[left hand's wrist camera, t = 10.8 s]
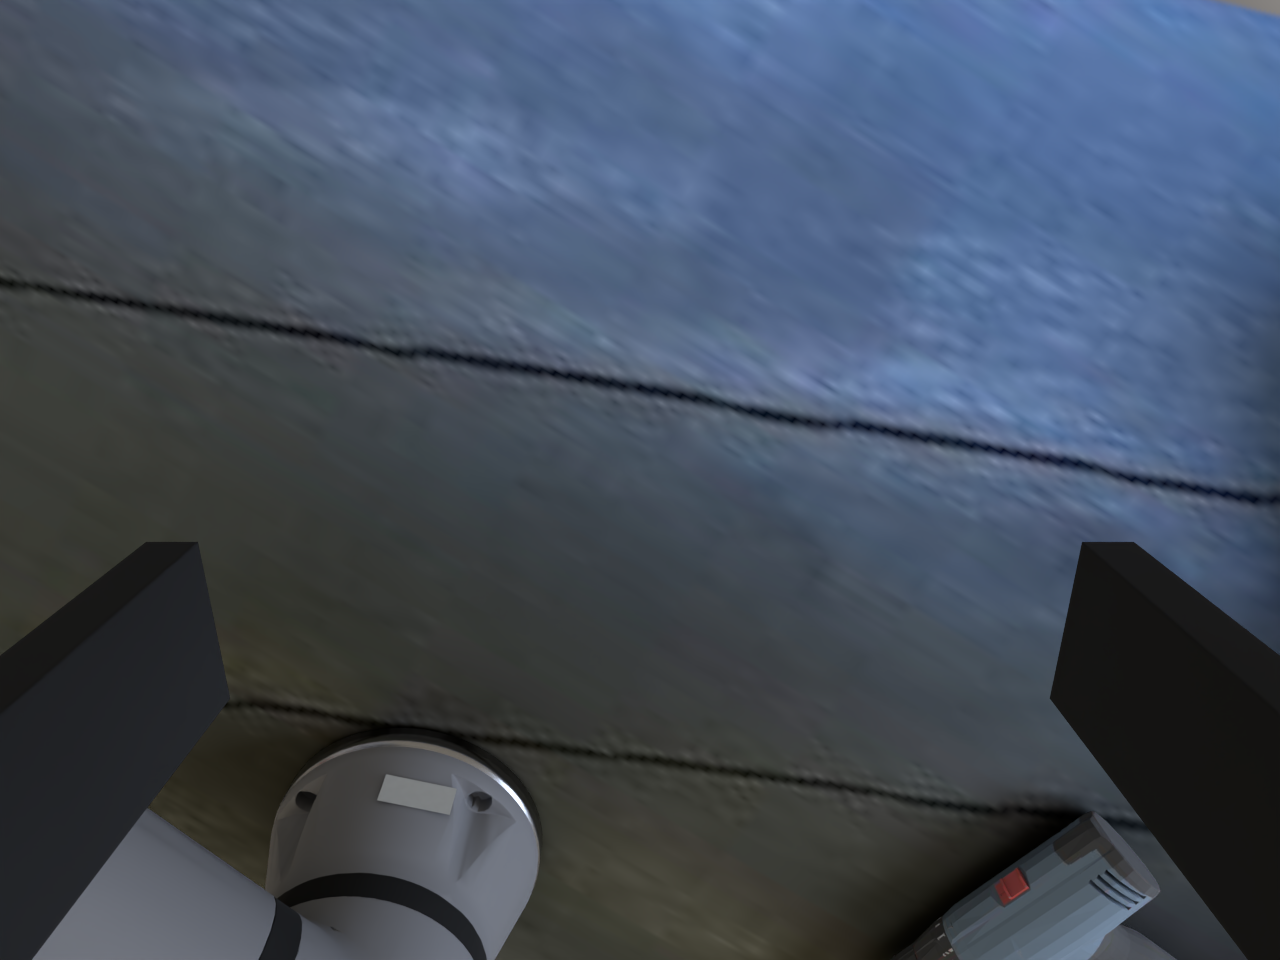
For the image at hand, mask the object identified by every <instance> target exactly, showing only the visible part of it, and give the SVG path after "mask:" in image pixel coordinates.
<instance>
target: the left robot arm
mask: <svg viewBox="0 0 1280 960" xmlns="http://www.w3.org/2000/svg"><path fill="white" fill-rule="evenodd" d="M229 699H230V696H229V691H228V686H227V681H226V676H225V671H224V666H223V662H222V657H221V652H220V647H219V642H218V637H217V633H216V628H215V623H214V618H213V613H212V608H211V604H210V599H209V594H208V589H207V584H206V579H205V575H204V570H203V565H202V560H201V555H200V550H199V545H198V542H146V543H144V544H143V545H142V546H141V547H139V548H138V549H137V550H135V551H134V552H133V553H132V554H130V555H129V556H128V557H126V558H125V559H124V560H123V561H121V562H120V563H119V564H117V565H116V566H115V567H114V568H112V569H111V570H110V571H108V572H107V573H106V574H105V575H103V576H102V577H101V578H99V579H98V580H97V581H96V582H94V583H93V584H92V585H90V586H89V587H88V588H87V589H85V590H84V591H83V592H81V593H80V594H79V595H78V596H76V597H75V598H74V599H73V600H71V601H70V602H69V603H67V604H66V605H65V606H64V607H62V608H61V609H60V610H58V611H57V612H56V613H55V614H53V615H52V616H51V617H49V618H48V619H47V620H46V621H44V622H43V623H42V624H40V625H39V626H38V627H37V628H35V629H34V630H33V631H31V632H30V633H29V634H28V635H26V636H25V637H24V638H22V639H21V640H20V641H19V642H17V643H16V644H15V645H13V646H12V647H11V648H10V649H8V650H7V651H6V652H4V653H3V654H2V655H1V656H0V960H495V958H496V956H497V955H498V953H499V951H500V949H501V948H502V946H503V944H504V942H505V941H506V939H507V937H508V935H509V934H510V932H511V930H512V928H513V927H514V925H515V923H516V922H517V920H518V918H519V916H520V915H521V913H522V911H523V909H524V908H525V906H526V904H527V902H528V900H529V898H530V895H531V893H532V891H533V888H534V886H535V883H536V880H537V876H538V870H539V863H540V856H541V849H542V828H541V822H540V818H539V814H538V812H537V809H536V806H535V804H534V802H533V800H532V798H531V796H530V794H529V793H528V791H527V790H526V788H525V787H524V785H523V784H522V783H521V781H520V780H519V779H518V778H517V777H516V775H515V774H514V773H513V772H512V771H511V770H510V769H509V768H507V767H506V766H505V765H504V764H503V763H502V762H500V761H499V760H498V759H496V758H495V757H494V756H492V755H491V754H489V753H488V752H486V751H484V750H482V749H481V748H479V747H477V746H475V745H473V744H471V743H469V742H467V741H464V740H462V739H459V738H456V737H454V736H450V735H447V734H443V733H440V732H435V731H430V730H423V729H415V728H385V729H377V730H371V731H366V732H362V733H358V734H355V735H352V736H349V737H346V738H344V739H342V740H339V741H337V742H335V743H333V744H331V745H329V746H328V747H326V748H325V749H323V750H322V751H320V752H319V753H317V754H316V755H315V756H314V757H313V758H311V759H310V760H309V761H308V762H307V763H306V764H305V765H304V766H303V768H302V769H301V770H300V771H299V773H298V774H297V775H296V777H295V779H294V780H293V782H292V784H291V786H290V788H289V789H288V791H287V793H286V795H285V797H284V798H283V800H282V802H281V804H280V806H279V808H278V811H277V813H276V817H275V821H274V825H273V829H272V833H271V840H270V849H269V858H268V867H267V876H266V885H265V889H263V888H262V887H260V886H259V885H257V884H256V883H255V882H253V881H252V880H250V879H249V878H247V877H246V876H244V875H243V874H242V873H240V872H239V871H237V870H236V869H234V868H233V867H232V866H230V865H229V864H227V863H226V862H224V861H223V860H222V859H220V858H219V857H217V856H216V855H214V854H213V853H212V852H210V851H209V850H207V849H206V848H204V847H203V846H202V845H200V844H199V843H197V842H196V841H194V840H193V839H191V838H190V837H189V836H187V835H186V834H184V833H183V832H181V831H180V830H179V829H177V828H176V827H174V826H173V825H171V824H170V823H169V822H167V821H166V820H164V819H163V818H161V817H160V816H159V815H157V814H156V813H154V812H153V811H151V810H150V809H149V808H147V807H148V806H149V805H150V803H151V802H152V801H153V799H154V798H155V797H156V796H157V794H158V793H159V792H160V790H161V789H162V788H163V786H164V785H165V784H166V782H167V781H168V780H169V778H170V777H171V776H172V774H173V773H174V772H175V770H176V769H177V768H178V766H179V765H180V764H181V763H182V761H183V760H184V759H185V757H186V756H187V755H188V753H189V752H190V751H191V749H192V748H193V747H194V745H195V744H196V743H197V741H198V740H199V739H200V737H201V736H202V735H203V733H204V732H205V731H206V730H207V728H208V727H209V726H210V724H211V723H212V722H213V720H214V719H215V718H216V716H217V715H218V714H219V712H220V711H221V710H222V708H223V707H224V706H225V704H226V703H227V702H228V701H229ZM1050 699H1051V701H1052V702H1053V703H1054V704H1055V706H1056V707H1057V708H1058V710H1059V711H1060V712H1061V714H1062V715H1063V716H1064V718H1065V719H1066V720H1067V722H1068V723H1069V724H1070V726H1071V727H1072V728H1073V730H1074V731H1075V732H1076V734H1077V735H1078V736H1079V737H1080V739H1081V740H1082V741H1083V743H1084V744H1085V745H1086V747H1087V748H1088V749H1089V751H1090V752H1091V753H1092V755H1093V756H1094V757H1095V759H1096V760H1097V761H1098V763H1099V764H1100V765H1101V766H1102V768H1103V769H1104V770H1105V772H1106V773H1107V774H1108V776H1109V777H1110V778H1111V780H1112V781H1113V782H1114V784H1115V785H1116V786H1117V788H1118V789H1119V790H1120V792H1121V793H1122V794H1123V796H1124V797H1125V798H1126V799H1127V801H1128V802H1129V803H1130V805H1131V806H1132V807H1133V809H1134V810H1135V811H1136V813H1137V814H1138V815H1139V817H1140V818H1141V819H1142V821H1143V822H1144V823H1145V825H1146V826H1147V827H1148V829H1149V830H1150V831H1151V832H1152V834H1153V835H1154V836H1155V838H1156V839H1157V840H1158V842H1159V843H1160V844H1161V846H1162V847H1163V848H1164V850H1165V851H1166V852H1167V854H1168V855H1169V856H1170V858H1171V859H1172V860H1173V861H1174V863H1175V864H1176V865H1177V867H1178V868H1179V869H1180V871H1181V872H1182V873H1183V875H1184V876H1185V877H1186V879H1187V880H1188V881H1189V883H1190V884H1191V885H1192V887H1193V888H1194V889H1195V891H1196V892H1197V893H1198V894H1199V896H1200V897H1201V898H1202V900H1203V901H1204V902H1205V904H1206V905H1207V906H1208V908H1209V909H1210V910H1211V912H1212V913H1213V914H1214V916H1215V917H1216V918H1217V920H1218V921H1219V922H1220V924H1221V925H1222V926H1223V927H1224V929H1225V930H1226V931H1227V933H1228V934H1229V935H1230V937H1231V938H1232V939H1233V941H1234V942H1235V943H1236V945H1237V946H1238V947H1239V949H1240V950H1241V951H1242V953H1243V954H1244V955H1245V956H1246V958H1247V959H1248V960H1280V656H1279V655H1278V654H1277V653H1276V652H1274V651H1273V650H1272V649H1270V648H1269V647H1268V646H1267V645H1265V644H1264V643H1263V642H1261V641H1260V640H1259V639H1258V638H1256V637H1255V636H1254V635H1252V634H1251V633H1250V632H1249V631H1247V630H1246V629H1245V628H1243V627H1242V626H1241V625H1240V624H1238V623H1237V622H1236V621H1234V620H1233V619H1232V618H1231V617H1229V616H1228V615H1227V614H1225V613H1224V612H1223V611H1222V610H1220V609H1219V608H1218V607H1216V606H1215V605H1214V604H1213V603H1211V602H1210V601H1209V600H1207V599H1206V598H1205V597H1204V596H1202V595H1201V594H1200V593H1199V592H1197V591H1196V590H1195V589H1193V588H1192V587H1191V586H1190V585H1188V584H1187V583H1186V582H1184V581H1183V580H1182V579H1181V578H1179V577H1178V576H1177V575H1175V574H1174V573H1173V572H1172V571H1170V570H1169V569H1168V568H1166V567H1165V566H1164V565H1163V564H1161V563H1160V562H1159V561H1157V560H1156V559H1155V558H1154V557H1152V556H1151V555H1150V554H1148V553H1147V552H1146V551H1145V550H1143V549H1142V548H1141V547H1139V546H1138V545H1137V544H1136V543H1134V542H1082V545H1081V550H1080V555H1079V560H1078V565H1077V570H1076V575H1075V579H1074V584H1073V589H1072V594H1071V599H1070V604H1069V608H1068V613H1067V618H1066V623H1065V628H1064V633H1063V637H1062V642H1061V647H1060V652H1059V657H1058V662H1057V666H1056V671H1055V676H1054V681H1053V686H1052V691H1051V696H1050Z"/></svg>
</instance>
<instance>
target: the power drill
mask: <svg viewBox="0 0 1280 960" xmlns="http://www.w3.org/2000/svg"><path fill="white" fill-rule="evenodd" d="M1159 892H1160V888H1159V885H1158V883H1157V882H1156V880H1155V878H1154V877H1153V876H1152V874H1151V873H1150V872H1149V870H1148V869H1147V867H1146V866H1145V864H1144V863H1143V862H1142V861H1141V859H1140V858H1139V857H1138V856H1137V854H1136V853H1135V852H1134V851H1133V850H1132V849H1131V847H1130V846H1129V845H1128V844H1127V843H1126V842H1125V840H1124V839H1123V838H1122V837H1121V836H1120V835H1119V834H1118V833H1117V832H1116V831H1115V830H1114V829H1113V828H1112V827H1111V826H1110V825H1109V824H1108V822H1106V821H1105V820H1104V819H1103V818H1102V817H1101V816H1099V815H1098V814H1097V813H1096V812H1094V811H1090V812H1088V813H1086V814H1084V815H1082V816H1081V817H1079V818H1078V819H1077V820H1075V821H1074V822H1073V823H1071V824H1069V825H1068V826H1067V827H1066V828H1064V829H1062V830H1061V832H1059V833H1057V834H1055V835H1054V836H1052V837H1051V838H1050V839H1048V840H1047V841H1045V842H1044V843H1042V844H1041V845H1039V846H1038V847H1037V848H1035V849H1034V850H1032V851H1031V852H1029V853H1028V854H1027V855H1025V856H1024V857H1022V858H1021V859H1019V860H1018V861H1016V862H1015V863H1014V864H1012V865H1011V866H1009V867H1008V868H1006V869H1005V870H1003V871H1002V872H1001V873H999V874H998V875H996V876H995V877H993V878H992V879H991V880H989V881H988V882H986V883H985V884H983V885H982V886H980V887H979V888H978V889H976V890H975V891H973V892H972V893H970V894H969V895H967V896H966V897H965V898H963V899H962V900H960V901H959V902H957V903H956V904H955V905H953V906H952V907H951V908H950V909H949V910H948V911H947V912H946V913H945V914H944V915H943V916H942V917H940V918H939V919H937V920H936V921H935V922H934V923H933V924H932V925H931V926H930V927H929V928H928V929H927V930H926V931H925V932H924V933H923V934H922V935H921V936H920V937H919V938H918V939H917V940H916V941H915V942H914V943H912V944H911V945H909V946H908V947H906V948H905V949H904V950H902V951H901V952H899V953H898V954H896V955H893V957H892V958H891V959H890V960H1177V959H1175V958H1174V957H1173V956H1171V955H1170V954H1169V953H1167V952H1166V951H1164V950H1163V949H1162V948H1160V947H1159V946H1157V945H1156V944H1155V943H1153V942H1152V941H1150V940H1149V939H1148V938H1146V937H1145V936H1143V935H1142V934H1141V933H1139V932H1137V931H1136V930H1134V929H1131V928H1129V927H1126V926H1123V925H1121V924H1120V923H1122V922H1123V921H1124V920H1125V919H1127V918H1128V917H1129V916H1131V915H1132V914H1133V913H1135V912H1136V911H1137V910H1139V909H1140V908H1142V907H1143V906H1144V905H1146V904H1147V903H1148V902H1150V901H1151V900H1152V899H1154V898H1155V897H1156V896H1157V895H1158V894H1159Z"/></svg>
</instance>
